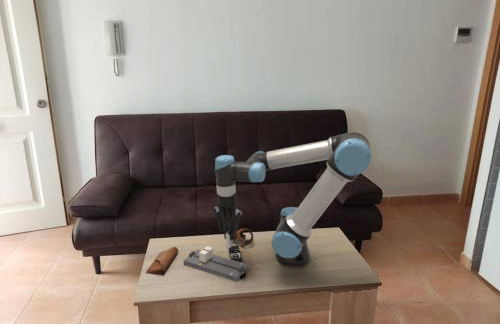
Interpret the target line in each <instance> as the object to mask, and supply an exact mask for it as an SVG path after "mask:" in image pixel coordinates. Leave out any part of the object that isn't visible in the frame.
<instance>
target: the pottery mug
mask: <svg viewBox="0 0 500 324" xmlns="http://www.w3.org/2000/svg"><path fill="white" fill-rule="evenodd" d="M244 232H248V234H250V236H251V237H250V238H249V239H246V237H247V234H245V233H244ZM244 239H245V240H244ZM237 240H238V242H239V243H241V244H240V248H241V249H242V248H243V249H244V248H245V247H247V246H249V245H251V244H252V242H254V233H253V231H252V230H251V229H249V228H240V229H238V231H237V232H236V233H234V239H233V243H235V241H237Z"/></svg>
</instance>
